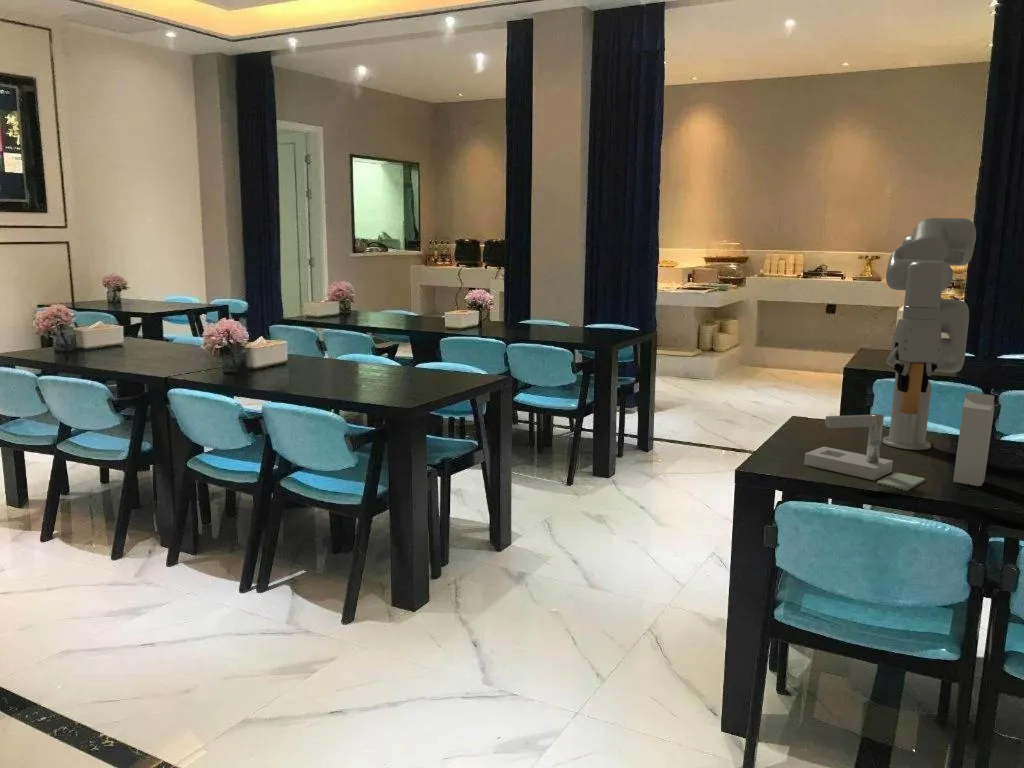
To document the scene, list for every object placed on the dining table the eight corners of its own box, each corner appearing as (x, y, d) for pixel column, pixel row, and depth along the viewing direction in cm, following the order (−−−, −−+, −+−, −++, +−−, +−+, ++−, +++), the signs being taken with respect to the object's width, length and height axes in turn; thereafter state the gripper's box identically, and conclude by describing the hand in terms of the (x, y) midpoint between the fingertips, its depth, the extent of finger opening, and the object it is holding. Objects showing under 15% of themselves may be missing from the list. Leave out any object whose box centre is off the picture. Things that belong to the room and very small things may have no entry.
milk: (980, 487, 194) (993, 397, 190) (952, 482, 198) (964, 393, 194) (984, 481, 199) (996, 393, 195) (956, 476, 203) (968, 390, 198)
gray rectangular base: (822, 457, 217) (823, 446, 217) (891, 472, 205) (892, 460, 204) (804, 464, 210) (805, 453, 209) (874, 480, 197) (875, 468, 197)
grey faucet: (820, 461, 200) (824, 415, 198) (873, 458, 204) (878, 413, 202) (827, 465, 198) (832, 418, 196) (881, 462, 202) (886, 416, 199)
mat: (895, 474, 203) (895, 472, 203) (924, 480, 198) (925, 478, 198) (876, 483, 195) (876, 481, 194) (906, 490, 190) (907, 488, 190)
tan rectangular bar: (903, 410, 196) (909, 361, 194) (921, 412, 193) (926, 363, 191) (897, 412, 193) (902, 362, 191) (915, 414, 190) (920, 364, 188)
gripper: (944, 313, 193) (935, 388, 196) (877, 312, 192) (869, 388, 195) (964, 316, 186) (954, 394, 189) (895, 315, 184) (886, 394, 188)
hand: (911, 390), depth 192 cm, fingers closed on tan rectangular bar, 4 cm apart
